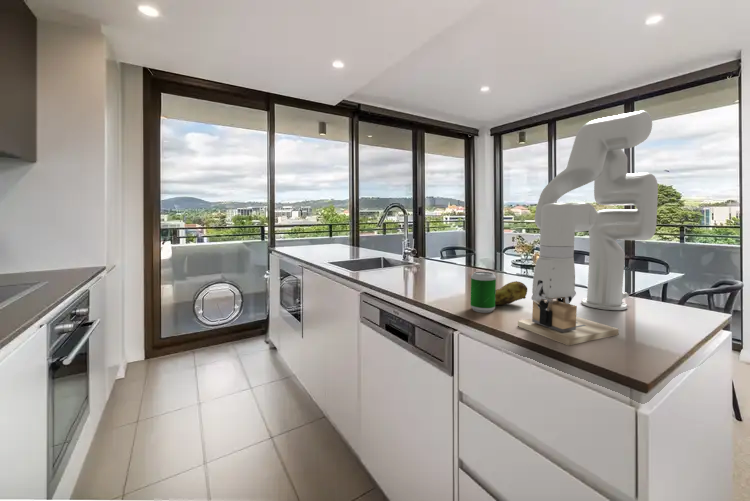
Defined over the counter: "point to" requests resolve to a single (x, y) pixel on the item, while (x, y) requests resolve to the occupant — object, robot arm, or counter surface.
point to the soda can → (483, 291)
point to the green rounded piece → (510, 293)
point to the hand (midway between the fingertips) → (553, 323)
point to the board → (583, 331)
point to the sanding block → (558, 316)
